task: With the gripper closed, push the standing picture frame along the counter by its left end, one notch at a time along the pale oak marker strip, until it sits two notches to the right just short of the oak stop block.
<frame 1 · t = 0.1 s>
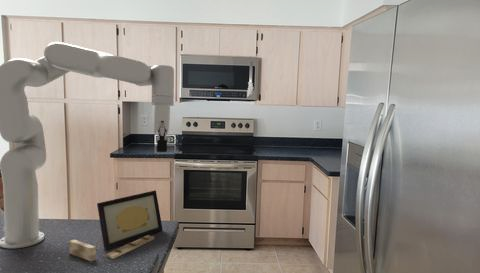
hand: (161, 149, 119), 31 cm above the countertop, tool pointing down, fingers open, 9 cm apart
picture frame: (129, 237, 120), on the countertop
stop block: (82, 256, 103), on the countertop
marker strip: (131, 247, 111), on the countertop
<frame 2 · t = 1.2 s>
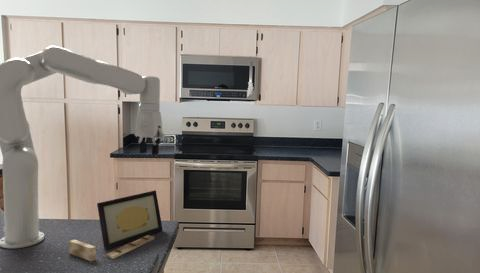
hand: (149, 153, 134), 28 cm above the countertop, tool pointing down, fingers open, 5 cm apart
nothing on the countertop moved.
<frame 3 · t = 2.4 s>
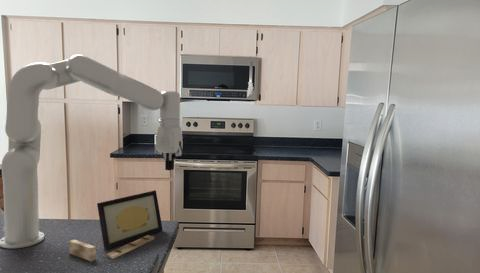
hand: (169, 169, 133), 22 cm above the countertop, tool pointing down, fingers closed
nothing on the countertop moved.
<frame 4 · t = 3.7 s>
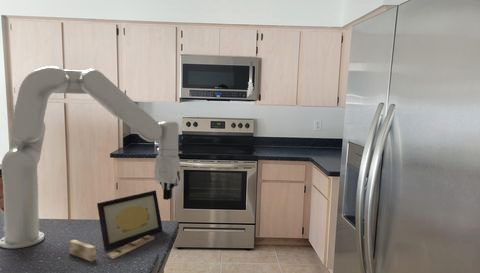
hand: (167, 198, 133), 10 cm above the countertop, tool pointing down, fingers closed
nothing on the countertop moved.
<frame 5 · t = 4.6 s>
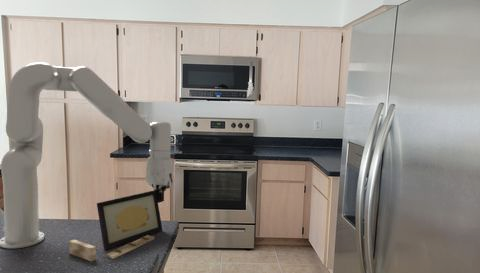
hand: (159, 201, 129), 10 cm above the countertop, tool pointing down, fingers closed
picture frame: (128, 237, 120), on the countertop, touching gripper
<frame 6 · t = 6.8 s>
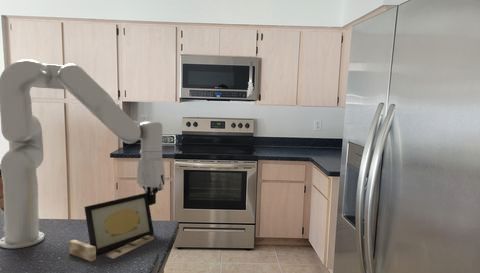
hand: (151, 204, 125), 10 cm above the countertop, tool pointing down, fingers closed
picture frame: (118, 241, 115), on the countertop, touching gripper
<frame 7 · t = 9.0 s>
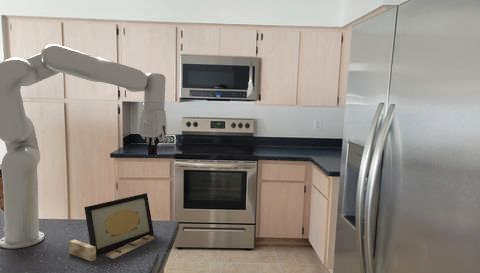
hand: (152, 154, 128), 28 cm above the countertop, tool pointing down, fingers closed
picture frame: (118, 241, 115), on the countertop
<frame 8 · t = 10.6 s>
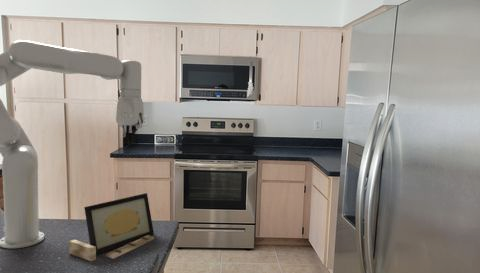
hand: (130, 143, 128), 32 cm above the countertop, tool pointing down, fingers closed
nothing on the countertop moved.
at the end: picture frame inside the target area (0.5 cm from its centre), on the countertop; picture frame tilted 0°; the gripper is holding nothing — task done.
